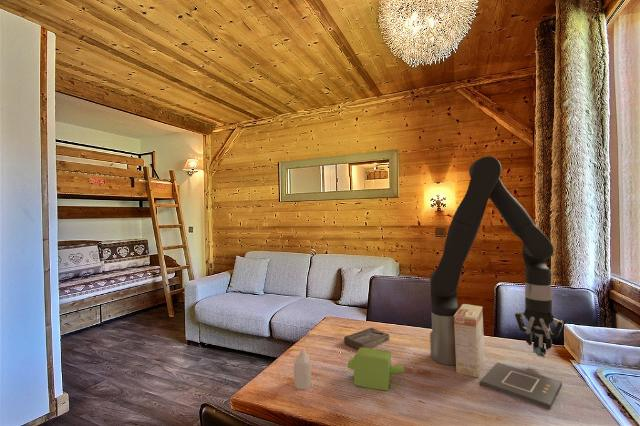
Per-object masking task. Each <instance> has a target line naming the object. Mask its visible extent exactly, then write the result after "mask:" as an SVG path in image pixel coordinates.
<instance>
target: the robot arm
mask: <svg viewBox="0 0 640 426" xmlns="http://www.w3.org/2000/svg"><path fill="white" fill-rule="evenodd" d="M502 170H503V168H502V164H501V162H500V161H499V159H497V158H496V157H494V156H488V155H487V156H483V157H480V158H478V159H477V160H475V161H474V162H472V164H471V165H470V167H469V171H468V174H469V177H470V179H469V183H468V186H467V191H466V193H465V194H464V196H463V198H462V200H461V202H460V203H459V205H458V207H457V209H456V210H455V212H454V215H453V217H452V219H451V222H450V224H449V227H448V230H447V232H446V233H447V234H446V239H445V242H444V246H443V247H444V249H443V253H442V257H441V259H440V262H439V263H438V266H437V267H436V269H435V270H433V271H432V273H431V274H430V278H429V279H430V280H429V281H430V285H429V286H430V309H431V310H430V311H431V331H430V332H429V342H430V358H431V359H432V360H434V361H435V362H437V363H439V364H441V365H447V366H453V365H455V366H456V352H455V329H454V315H455V313H456V312H457V311H458V310H459V303H458V302H459V301H458V286H459V282H460V278H461V274H462V270H463V267H464V265H465V261H466V260H467V257H468V256H469V253H470V251H471V249H472V247H473V246H474V245H473V244H474V242H475V240H476V238H477V236H478V232H479V230H480V227H481V223H482V221H483V218H484V214H485V213H486V212H485V211H486V208H487V205H488V202H489V199H490V201H491V202H492V204H493V205H494V206H495V208H496V209H497V211H498V213H500V216H501V217H502V218H503V220H504V221H505V223H506V225H507V226H508V227H509V229H510V230H511V232H512V233H513V234H514V235H515V236H516V237H518V238H519V239H520V240H521V241H522V243H523V244H522V257H523V262H524V266H525V287H524V294H525V295H524V300H525V301H524V305H525V306H524V309H525V310H524V312H520V311H517V312H516V313H515V314H514V316H515V320H516V322H517V325H518V328H519V330H520V332H524V333H525V342H526V343H527V345H528V346H533V332H532V331H531V328H532V327H533V326H539V327H541V328H543V330H544V332H545V335H544V336H545V349H546V351H549V350H550V349H551V348H552V347H553V339H555V340H556V339H558V338H559V337H560V335H561V332H562V329H563V326H564V323H565V322H564V321H563V320H562V319H561V320H559V319H558V318H555V316H554V315H553V290H552V281H551V280H552V278H551V277H552V275H551V270H550V268H549V267H548V266H547V261H546V260H549V259H550V258H551V257H553V255H554V245H553V243H552V242H551V241H550V239H549V238H548V237H547V236H546V235H545V233H544V232H543V231H542V230H541V229H540V228H539V227H538V226H537V225H536V224H535V222H534V220H533V219H532V218H531V216H530V215H529V213H528V211H527V210H526V209H525V207H524V206H522V204H521V203H520V202H519V201H518V200H517V199H516V198H515V197H514V196H513V195H512V194H511V193H510V191H508V189H507V188H506V187H505V185H504V184H503V182H502V180H501V179H500V178H501V174H502ZM524 317H525V318H526V320H527V321H528V324H527V326H526V324H525V322H524V320H523V319H524ZM551 323H554V326H555V330H554V332H553V333H552V329H551V327H550V324H551Z"/></svg>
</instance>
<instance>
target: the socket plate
mask: <svg viewBox="0 0 640 426" xmlns="http://www.w3.org/2000/svg"><path fill="white" fill-rule="evenodd" d="M479 383H480V384H479V385H481V386H483V387H487V388H489V389H492V390H495V391H498V392H499V393H503V394H507V395H509V396H513V397H515V398H518V399H520V400H524V401H526V402H529V403H532V404H534V405H537V406H541V407H543V408H546V409H549V410H551V409H552V406H553V404H554V403H555V400H556V398H557V396H558V394H559V392H560V390H561V389H562V386H563V381H562V380H558V379H557V378H556V379H555V378H552V377H548V376H546V375H542V374H538V373H534V372H531V371H528V370H525V369H521V368H518V367H514V366H511V365H507V364H504V363H500V362H497V363H496V364H495V365H493V367H492V368H491V369H489V371H488V372H487V373H485V375H484V376H482V378H481V379H480V381H479Z"/></svg>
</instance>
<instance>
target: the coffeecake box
mask: <svg viewBox="0 0 640 426" xmlns="http://www.w3.org/2000/svg"><path fill="white" fill-rule="evenodd" d="M454 329H455V352H456V364H455V371H456V373H458V374H461V375H465V376H471V377H474V378H476V379H477V378H479V376H480V373H481V370H482V369H483V365H484V362H485V360H486V358H485V341H484V340H485V337H484V336H485V335H484V314H483V306H481V305H474V304H469V303H467V304H466V303H462V304H461V306H460V307H458V311H457V312H456V313H455V315H454Z"/></svg>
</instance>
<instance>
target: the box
mask: <svg viewBox="0 0 640 426" xmlns="http://www.w3.org/2000/svg"><path fill="white" fill-rule="evenodd" d="M388 341H390V334H389V333H387V332H384V331H381V330H378V329H376V328H373V327H370V328H367V329H366V328H365V329H363V330H360V331H358V332H357V331H356V332H355V333H351V334H347V335H346V336H344V337H343V343H344V344H346V345H347V346H349V347H350V348H353V349H356V350H357V351H358V350H359V348H371V349H373V348H374V347H376V346H379V345H382V344H384V343H385V342H388Z"/></svg>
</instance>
